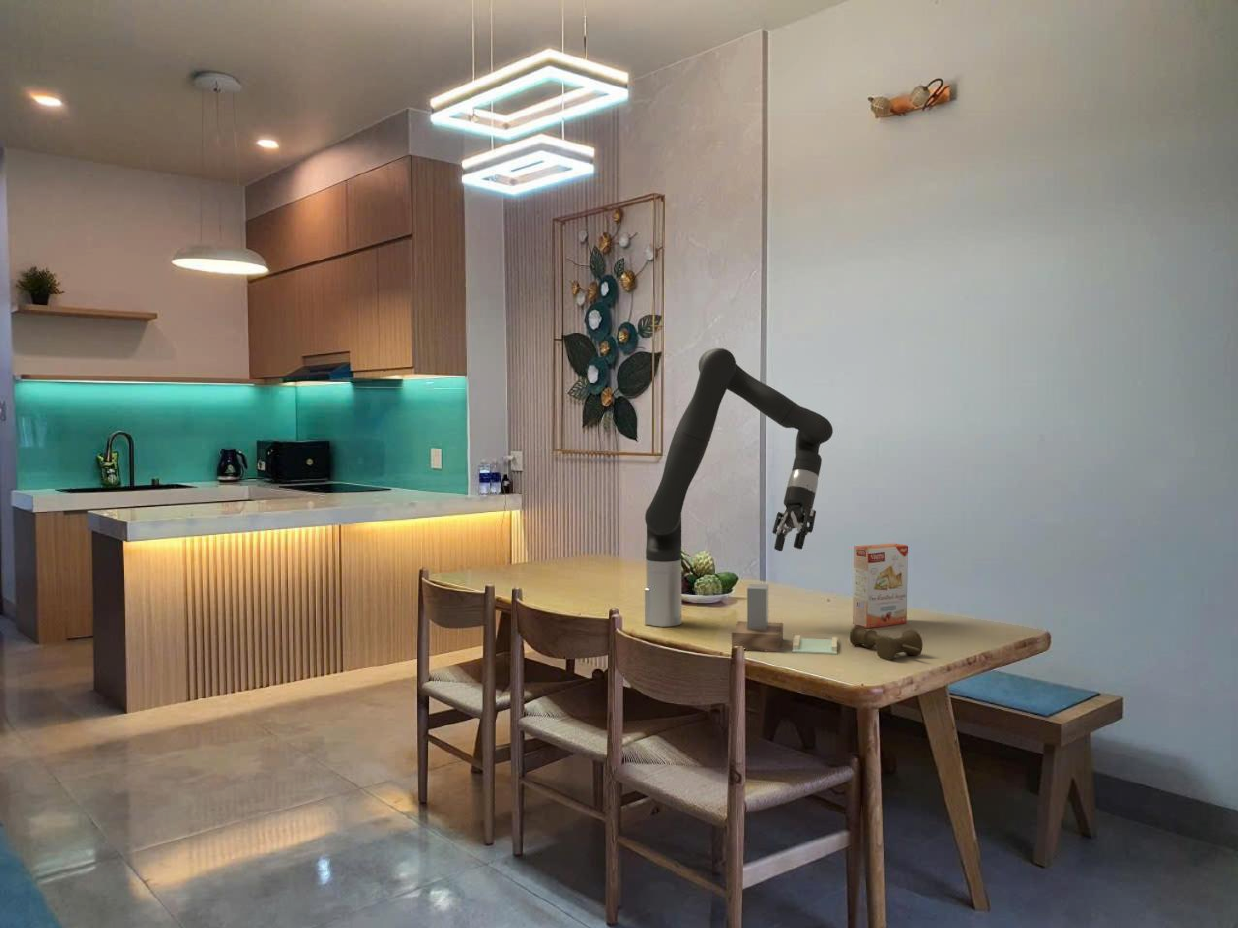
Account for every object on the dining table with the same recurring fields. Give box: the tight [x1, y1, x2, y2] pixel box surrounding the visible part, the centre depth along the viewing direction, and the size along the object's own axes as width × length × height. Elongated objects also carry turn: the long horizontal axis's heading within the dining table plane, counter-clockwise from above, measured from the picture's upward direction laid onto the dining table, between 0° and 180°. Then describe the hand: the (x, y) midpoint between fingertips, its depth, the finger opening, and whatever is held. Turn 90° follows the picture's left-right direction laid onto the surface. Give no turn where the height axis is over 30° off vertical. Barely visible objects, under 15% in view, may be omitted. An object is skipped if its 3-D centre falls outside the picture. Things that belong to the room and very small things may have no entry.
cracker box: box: [852, 542, 909, 629], centre depth 245 cm, size 14×6×21 cm, turn 117°
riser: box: [731, 620, 784, 652], centre depth 224 cm, size 11×13×4 cm
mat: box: [792, 634, 838, 655], centre depth 221 cm, size 10×13×1 cm
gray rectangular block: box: [746, 583, 769, 631], centre depth 224 cm, size 4×6×10 cm
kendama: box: [849, 625, 923, 661], centre depth 214 cm, size 6×10×20 cm
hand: (787, 549), depth 238 cm, fingers open, 8 cm apart
